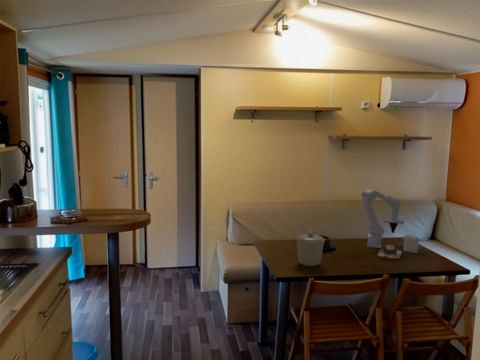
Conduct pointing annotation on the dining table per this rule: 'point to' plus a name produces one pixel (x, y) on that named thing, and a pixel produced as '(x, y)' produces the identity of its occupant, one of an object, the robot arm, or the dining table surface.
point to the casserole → (327, 243)
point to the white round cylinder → (390, 247)
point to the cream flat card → (389, 253)
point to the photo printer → (411, 243)
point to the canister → (309, 248)
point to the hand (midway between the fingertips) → (392, 232)
